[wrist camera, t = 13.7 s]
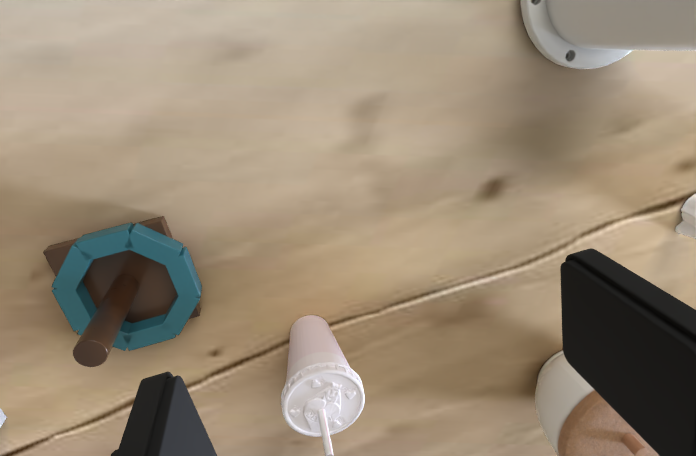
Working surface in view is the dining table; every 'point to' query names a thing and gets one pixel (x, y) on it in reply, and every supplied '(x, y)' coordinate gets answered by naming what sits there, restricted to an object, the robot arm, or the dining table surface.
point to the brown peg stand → (119, 294)
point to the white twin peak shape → (688, 218)
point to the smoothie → (319, 383)
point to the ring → (145, 243)
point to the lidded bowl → (581, 416)
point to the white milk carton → (2, 417)
